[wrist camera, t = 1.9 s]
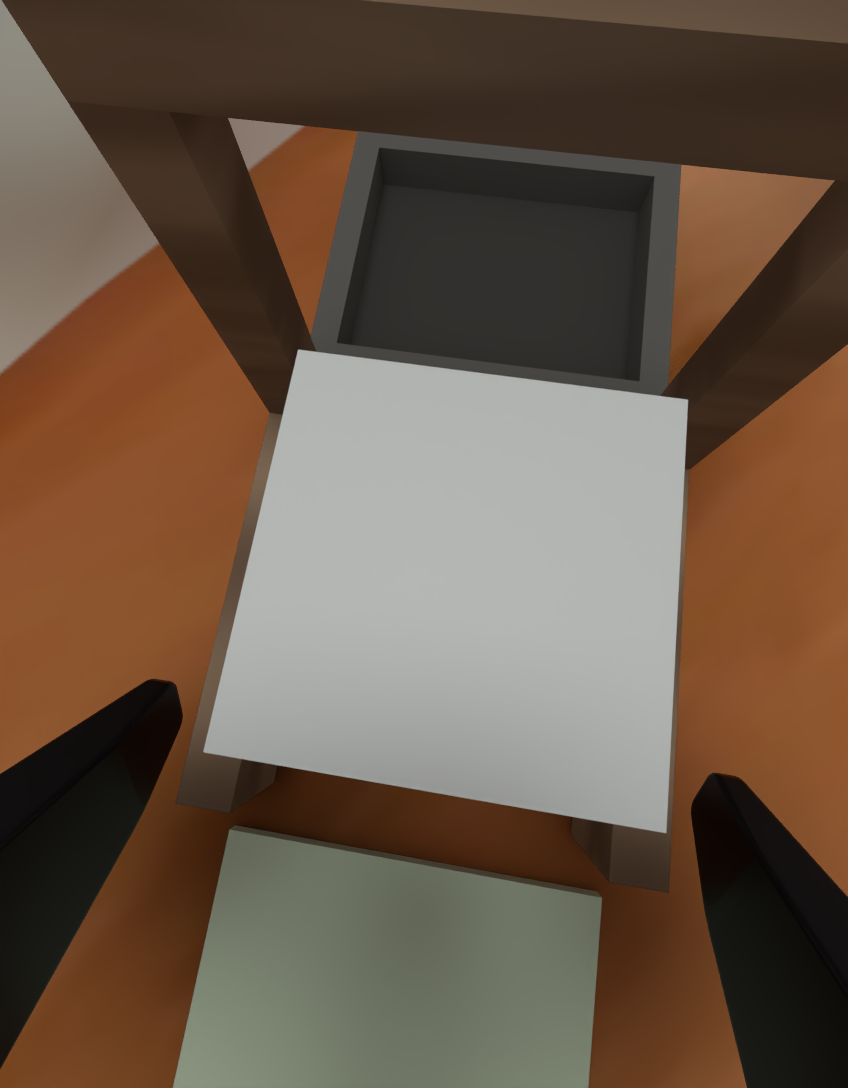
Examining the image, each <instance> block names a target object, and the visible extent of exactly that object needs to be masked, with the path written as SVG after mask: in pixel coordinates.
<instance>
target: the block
mask: <svg viewBox="0 0 848 1088" xmlns="http://www.w3.org/2000/svg"><path fill="white" fill-rule="evenodd" d="M687 412H688V400H687V399H679V398H671V397H663V396H656V395H648V394H640V393H632V392H624V391H617V390H609V389H601V388H593V387H586V386H578V385H570V384H562V383H554V382H547V381H539V380H531V379H523V378H516V377H508V376H500V375H492V374H484V373H477V372H469V371H461V370H453V369H446V368H438V367H430V366H422V365H414V364H407V363H399V362H391V361H383V360H376V359H368V358H360V357H352V356H344V355H337V354H329V353H321V352H313V351H306V350H298V352H297V357H296V361H295V365H294V369H293V374H292V378H291V382H290V386H289V390H288V395H287V399H286V403H285V407H284V412H283V416H282V420H281V424H280V429H279V433H278V437H277V441H276V446H275V450H274V454H273V458H272V463H271V467H270V471H269V475H268V480H267V484H266V488H265V492H264V496H263V501H262V505H261V509H260V513H259V518H258V522H257V526H256V530H255V535H254V539H253V543H252V547H251V552H250V556H249V560H248V564H247V569H246V573H245V577H244V581H243V586H242V590H241V594H240V598H239V602H238V607H237V611H236V615H235V619H234V624H233V628H232V632H231V636H230V641H229V645H228V649H227V653H226V658H225V662H224V666H223V670H222V675H221V679H220V683H219V687H218V692H217V696H216V700H215V704H214V708H213V713H212V717H211V721H210V725H209V730H208V734H207V738H206V742H205V747H204V751H203V752H205V753H210V754H216V755H222V756H228V757H233V758H239V759H245V760H250V761H256V762H262V763H268V764H273V765H279V766H285V767H291V768H296V769H302V770H308V771H313V772H319V773H325V774H331V775H336V776H342V777H348V778H353V779H359V780H365V781H371V782H376V783H382V784H388V785H393V786H399V787H405V788H411V789H416V790H422V791H428V792H433V793H439V794H445V795H451V796H456V797H462V798H468V799H473V800H479V801H485V802H491V803H496V804H502V805H508V806H513V807H519V808H525V809H531V810H536V811H542V812H548V813H554V814H559V815H565V816H571V817H576V818H582V819H588V820H594V821H599V822H605V823H611V824H616V825H622V826H628V827H634V828H639V829H645V830H651V831H656V832H662V833H666V830H667V810H668V790H669V770H670V750H671V730H672V710H673V691H674V671H675V651H676V631H677V611H678V591H679V571H680V551H681V532H682V512H683V492H684V472H685V452H686V432H687Z"/></svg>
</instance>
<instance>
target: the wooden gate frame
mask: <svg viewBox="0 0 848 1088" xmlns="http://www.w3.org/2000/svg"><path fill="white" fill-rule="evenodd" d="M2 1H3V3H4V4H5V6H6V7H7V9H8V11H9V12H10V14H11V15H12V17H13V18H14V20H15V21H16V23H17V24H18V26H19V27H20V29H21V31H22V32H23V34H24V35H25V37H26V38H27V40H28V41H29V43H30V44H31V46H32V47H33V49H34V51H35V52H36V54H37V55H38V57H39V58H40V60H41V61H42V63H43V64H44V66H45V68H46V69H47V71H48V72H49V74H50V75H51V77H52V78H53V80H54V81H55V83H56V84H57V86H58V88H59V89H60V91H61V92H62V94H63V95H64V97H65V98H66V100H67V101H68V103H69V104H70V106H71V108H72V109H73V110H74V112H75V114H76V115H77V117H78V118H79V120H80V121H81V123H82V124H83V126H84V127H85V129H86V131H87V132H88V134H89V135H90V137H91V138H92V140H93V141H94V143H95V144H96V146H97V147H98V149H99V150H100V152H101V154H102V155H103V157H104V158H105V160H106V161H107V163H108V164H109V166H110V168H111V169H112V170H113V172H114V174H115V175H116V177H117V178H118V180H119V181H120V183H121V184H122V186H123V187H124V189H125V191H126V192H127V194H128V195H129V197H130V198H131V200H132V201H133V203H134V204H135V206H136V208H137V209H138V210H139V212H140V214H141V215H142V217H143V218H144V220H145V221H146V223H147V224H148V226H149V228H150V229H151V231H152V232H153V234H154V235H155V236H156V238H157V240H158V241H159V243H160V244H161V246H162V248H163V249H164V251H165V252H166V254H167V255H168V257H169V258H170V260H171V261H172V263H173V265H174V266H175V268H176V269H177V271H178V272H179V274H180V275H181V277H182V278H183V280H184V281H185V283H186V285H187V286H188V288H189V289H190V291H191V292H192V294H193V295H194V297H195V298H196V300H197V301H198V303H199V305H200V306H201V308H202V309H203V311H204V312H205V314H206V315H207V317H208V318H209V320H210V321H211V323H212V325H213V326H214V328H215V329H216V331H217V332H218V334H219V335H220V337H221V338H222V340H223V341H224V343H225V345H226V346H227V348H228V349H229V351H230V352H231V354H232V355H233V357H234V358H235V360H236V361H237V363H238V365H239V366H240V368H241V369H242V371H243V372H244V374H245V375H246V377H247V378H248V380H249V381H250V383H251V385H252V386H253V388H254V389H255V391H256V392H257V394H258V395H259V397H260V398H261V400H262V401H263V403H264V405H265V406H266V408H267V409H268V411H269V412H270V415H269V419H268V423H267V427H266V431H265V435H264V439H263V444H262V448H261V452H260V456H259V460H258V464H257V468H256V472H255V477H254V481H253V485H252V489H251V493H250V497H249V501H248V506H247V510H246V514H245V518H244V522H243V526H242V530H241V535H240V539H239V543H238V547H237V551H236V555H235V559H234V563H233V568H232V572H231V576H230V580H229V584H228V588H227V592H226V597H225V601H224V605H223V609H222V613H221V617H220V621H219V625H218V630H217V634H216V638H215V642H214V646H213V650H212V654H211V659H210V663H209V667H208V671H207V675H206V679H205V683H204V688H203V692H202V696H201V700H200V704H199V708H198V712H197V716H196V721H195V725H194V729H193V733H192V737H191V741H190V745H189V750H188V754H187V758H186V762H185V766H184V770H183V774H182V779H181V783H180V787H179V791H178V795H177V799H176V804H181V805H187V806H192V807H198V808H203V809H209V810H214V811H220V812H225V813H231V812H232V811H234V810H235V809H237V808H238V807H240V806H241V805H242V804H244V803H245V802H247V801H248V800H250V799H251V798H253V797H254V796H255V795H257V794H258V793H260V792H261V791H263V790H264V789H266V788H267V787H268V786H270V785H271V784H273V783H274V781H275V776H276V771H277V767H278V765H273V764H268V763H262V762H256V761H250V760H245V759H239V758H233V757H228V756H222V755H216V754H210V753H205V752H203V751H204V747H205V742H206V738H207V734H208V730H209V725H210V721H211V717H212V713H213V708H214V704H215V700H216V696H217V692H218V687H219V683H220V679H221V675H222V670H223V666H224V662H225V658H226V653H227V649H228V645H229V641H230V636H231V632H232V628H233V624H234V619H235V615H236V611H237V607H238V602H239V598H240V594H241V590H242V586H243V581H244V577H245V573H246V569H247V564H248V560H249V556H250V552H251V547H252V543H253V539H254V535H255V530H256V526H257V522H258V518H259V513H260V509H261V505H262V501H263V496H264V492H265V488H266V484H267V480H268V475H269V471H270V467H271V463H272V458H273V454H274V450H275V446H276V441H277V437H278V433H279V429H280V424H281V420H282V416H283V412H284V407H285V403H286V399H287V395H288V390H289V386H290V382H291V378H292V374H293V369H294V365H295V361H296V357H297V352H298V350H306V351H313V352H316V349H315V347H314V344H313V342H312V339H311V336H310V334H309V331H308V328H307V326H306V323H305V320H304V318H303V315H302V312H301V310H300V307H299V305H298V302H297V299H296V297H295V294H294V291H293V289H292V286H291V283H290V281H289V278H288V276H287V273H286V270H285V268H284V265H283V262H282V260H281V257H280V254H279V252H278V249H277V246H276V244H275V241H274V239H273V236H272V233H271V231H270V228H269V225H268V223H267V220H266V217H265V215H264V212H263V210H262V207H261V204H260V202H259V199H258V196H257V194H256V191H255V188H254V186H253V183H252V180H251V178H250V175H249V173H248V170H247V167H246V165H245V162H244V160H243V157H242V154H241V151H240V149H239V146H238V144H237V141H236V138H235V136H234V133H233V130H232V128H231V125H230V122H229V120H228V118H235V119H246V120H256V121H264V122H274V123H284V124H293V125H303V126H313V127H322V128H332V129H342V130H351V131H361V132H371V133H380V134H390V135H400V136H410V137H419V138H429V139H439V140H448V141H458V142H468V143H477V144H487V145H497V146H506V147H516V148H526V149H536V150H545V151H555V152H565V153H574V154H584V155H594V156H603V157H613V158H623V159H632V160H642V161H652V162H661V163H671V164H681V165H691V166H700V167H710V168H720V169H729V170H739V171H749V172H758V173H768V174H778V175H787V176H797V177H807V178H816V179H826V180H835V181H834V183H833V184H832V185H831V186H830V187H829V189H828V190H827V191H826V192H825V194H824V195H823V196H822V197H821V199H820V200H819V201H818V202H817V203H816V205H815V206H814V207H813V208H812V210H811V211H810V212H809V213H808V215H807V216H806V217H805V218H804V219H803V221H802V222H801V223H800V224H799V226H798V227H797V228H796V229H795V230H794V232H793V233H792V234H791V235H790V237H789V238H788V239H787V240H786V242H785V243H784V244H783V245H782V246H781V248H780V249H779V250H778V251H777V253H776V254H775V255H774V256H773V258H772V259H771V260H770V261H769V262H768V264H767V265H766V266H765V267H764V269H763V270H762V271H761V272H760V273H759V275H758V276H757V277H756V278H755V280H754V281H753V282H752V283H751V285H750V286H749V287H748V288H747V289H746V291H745V292H744V293H743V294H742V296H741V297H740V298H739V299H738V301H737V302H736V303H735V304H734V305H733V307H732V308H731V309H730V310H729V312H728V313H727V314H726V315H725V316H724V318H723V319H722V320H721V321H720V323H719V324H718V325H717V326H716V328H715V329H714V330H713V331H712V332H711V334H710V335H709V336H708V337H707V339H706V340H705V341H704V342H703V344H702V345H701V346H700V347H699V348H698V350H697V351H696V352H695V353H694V355H693V356H692V357H691V358H690V359H689V361H688V362H687V363H686V364H685V366H684V367H683V368H682V369H681V371H680V372H679V373H678V374H677V375H676V377H675V378H674V379H673V380H672V382H671V383H670V384H669V385H668V387H667V388H666V389H665V390H664V391H663V393H662V394H661V395H660V396H663V397H671V398H679V399H687V400H688V412H687V432H686V452H685V472H684V492H683V512H682V532H681V551H680V571H679V591H678V611H677V631H676V651H675V671H674V691H673V710H672V730H671V750H670V770H669V790H668V810H667V830H666V833H662V832H656V831H651V830H645V829H639V828H634V827H628V826H622V825H616V824H611V823H605V822H599V821H594V820H588V819H582V818H576V817H572V826H571V836H572V837H573V838H574V840H575V841H576V842H577V843H578V845H579V846H580V847H581V848H582V849H583V851H584V852H585V853H586V854H587V856H588V857H589V858H590V859H591V861H592V862H593V863H594V864H595V865H596V867H597V868H598V869H599V870H600V872H601V873H602V874H603V875H604V877H605V878H606V879H607V880H608V882H611V883H617V884H622V885H628V886H633V887H639V888H644V889H650V890H655V891H661V892H666V893H669V876H670V855H671V834H672V814H673V793H674V772H675V752H676V731H677V711H678V690H679V669H680V649H681V628H682V607H683V587H684V566H685V545H686V525H687V504H688V484H689V470H690V469H691V468H692V467H693V466H695V465H696V464H697V463H698V462H700V461H701V460H702V459H703V458H705V457H706V456H707V455H708V454H710V453H711V452H712V451H713V450H715V449H716V448H717V447H719V446H720V445H721V444H722V443H724V442H725V441H726V440H727V439H729V438H730V437H731V436H732V435H734V434H735V433H736V432H737V431H739V430H740V429H741V428H742V427H744V426H745V425H746V424H748V423H749V422H750V421H751V420H753V419H754V418H755V417H756V416H758V415H759V414H760V413H761V412H763V411H764V410H765V409H766V408H768V407H769V406H770V405H771V404H773V403H774V402H775V401H777V400H778V399H779V398H780V397H782V396H783V395H784V394H785V393H787V392H788V391H789V390H790V389H792V388H793V387H794V386H795V385H797V384H798V383H799V382H800V381H802V380H803V379H804V378H806V377H807V376H808V375H809V374H811V373H812V372H813V371H814V370H816V369H817V368H818V367H819V366H821V365H822V364H823V363H824V362H826V361H827V360H828V359H829V358H831V357H832V356H833V355H835V354H836V353H837V352H838V351H840V350H841V349H842V348H843V347H845V346H846V345H847V344H848V0H2Z"/></svg>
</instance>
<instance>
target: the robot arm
mask: <svg viewBox="0 0 848 1088" xmlns="http://www.w3.org/2000/svg"><path fill="white" fill-rule="evenodd" d="M182 717H183V714H182V708H181V704H180V699H179V695H178V690H177V687H176V685H175V684H174V683H173V682H171V681H165V680H159V679H150V680H147V681H145V682H144V683H142V684H140V685H139V686H137V687H136V688H134V689H133V690H131V691H129V692H128V693H126V694H125V695H123V696H122V697H120V698H118V699H117V700H115V701H114V702H112V703H111V704H109V705H108V706H106V707H104V708H103V709H101V710H100V711H98V712H97V713H95V714H93V715H92V716H90V717H89V718H87V719H86V720H84V721H82V722H81V723H79V724H78V725H76V726H75V727H73V728H72V729H70V730H68V731H67V732H65V733H64V734H62V735H61V736H59V737H57V738H56V739H54V740H53V741H51V742H50V743H48V744H46V745H45V746H43V747H42V748H40V749H39V750H37V751H36V752H34V753H32V754H31V755H29V756H28V757H26V758H25V759H23V760H21V761H20V762H18V763H17V764H15V765H14V766H12V767H10V768H9V769H7V770H6V771H4V772H3V773H1V774H0V1069H1V1067H2V1065H3V1063H4V1062H5V1060H6V1058H7V1056H8V1054H9V1053H10V1051H11V1049H12V1047H13V1045H14V1044H15V1042H16V1040H17V1038H18V1037H19V1035H20V1033H21V1031H22V1029H23V1028H24V1026H25V1024H26V1022H27V1020H28V1019H29V1017H30V1015H31V1013H32V1011H33V1010H34V1008H35V1006H36V1004H37V1002H38V1001H39V999H40V997H41V995H42V993H43V992H44V990H45V988H46V986H47V985H48V983H49V981H50V979H51V977H52V976H53V974H54V972H55V970H56V968H57V967H58V965H59V963H60V961H61V959H62V958H63V956H64V954H65V952H66V950H67V949H68V947H69V945H70V943H71V941H72V940H73V938H74V936H75V934H76V933H77V931H78V929H79V927H80V925H81V924H82V922H83V920H84V918H85V916H86V915H87V913H88V911H89V909H90V907H91V906H92V904H93V902H94V900H95V898H96V897H97V895H98V893H99V891H100V889H101V888H102V886H103V884H104V882H105V881H106V879H107V877H108V875H109V873H110V872H111V870H112V868H113V866H114V864H115V863H116V861H117V859H118V857H119V855H120V854H121V852H122V850H123V848H124V846H125V845H126V843H127V841H128V839H129V837H130V836H131V834H132V832H133V830H134V829H135V827H136V825H137V823H138V821H139V819H140V817H141V815H142V813H143V811H144V809H145V807H146V805H147V803H148V801H149V798H150V796H151V794H152V791H153V789H154V787H155V784H156V782H157V780H158V778H159V775H160V773H161V771H162V768H163V766H164V764H165V761H166V759H167V757H168V754H169V752H170V750H171V748H172V745H173V743H174V741H175V738H176V736H177V734H178V731H179V729H180V726H181V723H182ZM691 818H692V825H693V832H694V839H695V846H696V853H697V860H698V868H699V875H700V882H701V889H702V896H703V903H704V909H705V915H706V920H707V924H708V929H709V933H710V937H711V941H712V946H713V950H714V954H715V958H716V962H717V966H718V970H719V974H720V978H721V982H722V987H723V991H724V995H725V999H726V1003H727V1007H728V1011H729V1015H730V1019H731V1023H732V1028H733V1032H734V1036H735V1040H736V1044H737V1048H738V1052H739V1056H740V1060H741V1064H742V1069H743V1073H744V1077H745V1081H746V1085H747V1088H848V897H847V896H846V894H845V893H844V892H843V891H842V890H841V889H840V888H839V887H838V886H837V884H836V883H835V882H834V881H833V880H832V879H831V878H830V877H829V876H828V874H827V873H826V872H825V871H824V870H823V869H822V868H821V867H820V866H819V864H818V863H817V862H816V861H815V860H814V859H813V858H812V857H811V856H810V854H809V853H808V852H807V851H806V850H805V849H804V848H803V847H802V846H801V844H800V843H799V842H798V841H797V840H796V839H795V838H794V837H793V836H792V834H791V833H790V832H789V831H788V830H787V829H786V828H785V827H784V826H783V824H782V823H781V822H780V821H779V820H778V819H777V818H776V817H775V816H774V814H773V813H772V812H771V811H770V810H769V809H768V808H767V807H766V806H765V804H764V803H763V802H762V801H761V800H760V799H759V798H758V797H757V796H756V794H755V793H754V792H753V791H752V790H751V789H750V788H749V787H748V786H747V784H746V783H745V782H744V781H742V780H741V779H740V778H738V777H736V776H732V775H726V774H720V773H712V774H710V775H709V776H708V777H707V779H706V781H705V782H704V784H703V785H702V787H701V789H700V790H699V792H698V793H697V795H696V797H695V798H694V800H693V802H692V807H691Z"/></svg>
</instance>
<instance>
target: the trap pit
mask: <svg viewBox="0 0 848 1088" xmlns="http://www.w3.org/2000/svg"><path fill="white" fill-rule="evenodd" d="M680 178H681V164H671V163H661V162H652V161H642V160H632V159H623V158H613V157H603V156H594V155H584V154H574V153H565V152H555V151H545V150H536V149H526V148H516V147H506V146H497V145H487V144H477V143H468V142H458V141H448V140H439V139H429V138H419V137H410V136H400V135H390V134H380V133H371V132H361V131H358V134H357V138H356V143H355V147H354V151H353V156H352V160H351V164H350V169H349V173H348V177H347V182H346V186H345V190H344V195H343V199H342V203H341V208H340V212H339V216H338V221H337V225H336V229H335V234H334V238H333V242H332V246H331V251H330V255H329V259H328V264H327V268H326V272H325V277H324V281H323V285H322V290H321V294H320V298H319V303H318V307H317V311H316V316H315V320H314V324H313V329H312V333H311V339H312V342H313V344H314V347H315V349H316V352H321V353H329V354H337V355H344V356H352V357H360V358H368V359H376V360H383V361H391V362H399V363H407V364H414V365H422V366H430V367H438V368H446V369H453V370H461V371H469V372H477V373H484V374H492V375H500V376H508V377H516V378H523V379H531V380H539V381H547V382H554V383H562V384H570V385H578V386H586V387H593V388H601V389H609V390H617V391H624V392H632V393H640V394H648V395H656V396H660V395H661V394H662V393H663V391H664V390H665V389H666V388H667V387H668V378H669V361H670V345H671V328H672V311H673V295H674V278H675V261H676V245H677V228H678V212H679V195H680Z"/></svg>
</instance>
